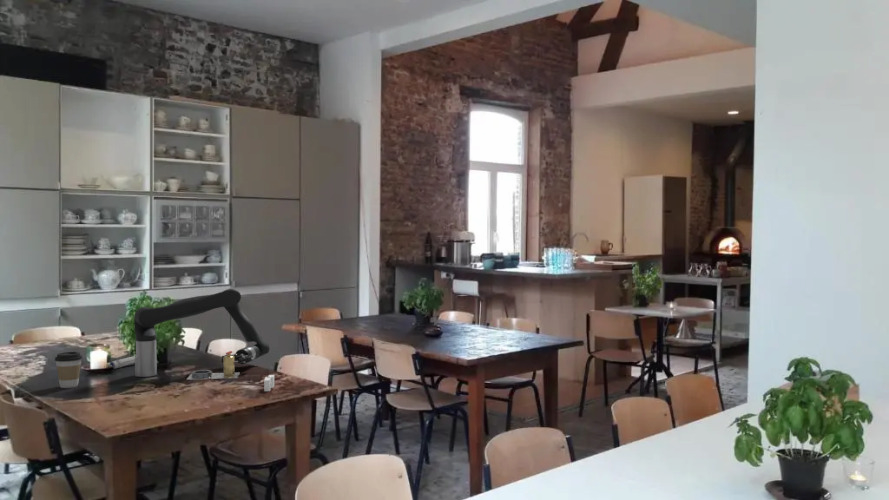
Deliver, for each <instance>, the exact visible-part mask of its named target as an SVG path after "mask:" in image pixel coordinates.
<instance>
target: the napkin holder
mask: <svg viewBox="0 0 889 500" xmlns="http://www.w3.org/2000/svg"><path fill="white" fill-rule="evenodd" d="M263 382H264V383H263V387H264V389H263V391H264V392H270V391H271V389H273V388H274V387H275V374H269V375H268V376H265V378H264V381H263Z"/></svg>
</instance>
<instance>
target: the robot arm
mask: <svg viewBox="0 0 889 500" xmlns="http://www.w3.org/2000/svg"><path fill="white" fill-rule="evenodd" d="M241 299H242V296H241V292H240V291H239V290H237V289H235V288H228V289H225V290H223V291H220V292H217V293H213V294H205V295H197V296H193V297H191V296H190V297H188V298H187V297H186V298H184V299H180V300H177V301H175V302H173V303H170V304H168V305H165V306H158V307H148V306H141V307H140V308H138V309H137V310H136V311H135V313H134V324H133V325H134V334H135V335H134V336H135V350H136V351H135V356H136V357H135V363H134V373H135V374H134V377H140V378H146V377H147V378H148V377H153V376H156V375H157V373H158V372H157V370H158V369H157V367H158V366H157V365H158V362H157V333H156V331H155V330H156V329H155V326H156V325H159V324H162V323H164V322H168V321H173V320H180V319H184V318H189V317H193V316H197V315H200V314H204V313H207V312H209V311H211V310H214V309H220V308H224V309H225V310H226V311H227V313H228V314H229V316H230V317H231V319H232V320H233V321H234V322H235V324H236V326H237V328H238V329H239V331H240V332H241V334H242V336H243V338H244V340H245V341H246V342H247V343H252V342H253V343H254V342H255V344H253V345H249V346H246V347H243V348H240V349H237V350H236V352H235V353H233V354H231V356H234V363H238V364H240V365H245V364H247V363H250V362H253V361H254V360H255V359H259V358H260V357H263V356H265V355H267V354H269V353H270V345H269V344H268V342H267V341H266V340H265V339H264V338H263V337H262V336H261V335H260V334H259V333H258V331H257V330H256V328H255V325H254V324H253V323H252V322H251V320H250V319H249V318H248V317H247V315H246V314H245V313H244V312H243V310H242V309H241V307H240V305H239V303H240V302H241ZM224 356H227V354H224V355H222V356H221V363H222V364H224Z"/></svg>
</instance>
